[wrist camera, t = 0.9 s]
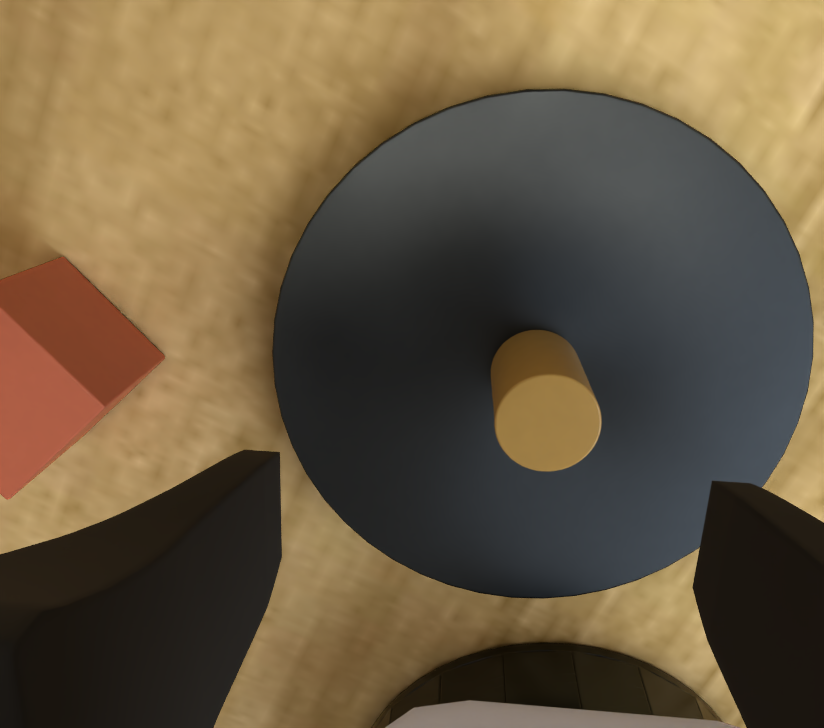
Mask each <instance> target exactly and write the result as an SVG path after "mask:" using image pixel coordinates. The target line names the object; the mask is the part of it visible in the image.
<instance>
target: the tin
mask: <svg viewBox="0 0 824 728" xmlns="http://www.w3.org/2000/svg"><path fill="white" fill-rule="evenodd" d="M469 700H471V701H484V702H496V703H508V704H520V705H532V706H544V707H556V708H568V709H580V710H592V711H604V712H616V713H628V714H640V715H653V716H665V717H677V718H689V719H701V720H713V721H720V722H722V721H721V720H720V718H719V717H718V716H717V715H716V713H715V712H714V711H713V710H712V708H711V707H710V706H708V705H707V704H706V703H705V702H704V701H703V700H702V699H701V698H700V697H699V696H698V695H697V694H695V693H694V692H693V691H692V690H691V689H689V688H688V687H686V686H685V685H683V684H682V683H681V682H679V681H678V680H676V679H675V678H673V677H672V676H670V675H668V674H666V673H664V672H662V671H661V670H659V669H657V668H655V667H653V666H651V665H649V664H647V663H644V662H642V661H639V660H636V659H634V658H631V657H628V656H626V655H623V654H619V653H615V652H612V651H608V650H604V649H600V648H595V647H588V646H581V645H574V644H562V643H532V644H518V645H510V646H505V647H499V648H494V649H489V650H485V651H481V652H478V653H475V654H472V655H468V656H465V657H462V658H459V659H457V660H455V661H453V662H450V663H448V664H446V665H444V666H441V667H439V668H437V669H435V670H434V671H432V672H430V673H429V674H427V675H425V676H424V677H422V678H420V679H419V680H417V681H416V682H414V683H413V684H412V685H411V686H409V687H408V688H407V689H406V690H404V691H403V692H402V693H401V694H399V695H398V696H397V697H396V698H395V699H394V700H393V702H392V703H391V704H390V705H389V706H388V707H387V708H386V709H385V710H384V711H383V712H382V714H381V715H380V717H379V718H378V719H377V721H376V722H375V724H374V725H373V727H372V728H385V727H387V726H388V725H390V724H391V723H392V722H394V721H395V720H397V719H398V718H400V717H401V716H402V715H404V714H405V713H407V712H408V711H410V710H411V709H413V708H415V707H423V706H430V705H438V704H446V703H453V702H461V701H469Z"/></svg>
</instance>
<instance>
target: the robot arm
mask: <svg viewBox="0 0 824 728" xmlns="http://www.w3.org/2000/svg"><path fill="white" fill-rule="evenodd" d="M281 558H282V545H281V493H280V452H269V451H254V450H243V451H240V452H238V453H236V454H234V455H232V456H230V457H228V458H226V459H224V460H222V461H220V462H218V463H217V464H215V465H213V466H211V467H210V468H208V469H206V470H204V471H202V472H201V473H199V474H197V475H195V476H193V477H192V478H190V479H188V480H186V481H184V482H183V483H181V484H179V485H177V486H175V487H173V488H172V489H170V490H168V491H166V492H164V493H162V494H160V495H158V496H156V497H154V498H152V499H150V500H148V501H146V502H144V503H142V504H139V505H137V506H135V507H133V508H131V509H129V510H127V511H125V512H123V513H121V514H119V515H116V516H114V517H112V518H109V519H107V520H104V521H102V522H100V523H97V524H94V525H92V526H89V527H86V528H84V529H81V530H78V531H76V532H73V533H70V534H67V535H65V536H62V537H59V538H55V539H52V540H48V541H45V542H42V543H38V544H35V545H31V546H28V547H25V548H21V549H18V550H14V551H11V552H8V553H4V554H0V728H213V727H214V725H215V722H216V720H217V717H218V715H219V713H220V710H221V708H222V706H223V704H224V702H225V700H226V697H227V695H228V693H229V691H230V689H231V686H232V684H233V682H234V680H235V678H236V675H237V673H238V671H239V669H240V667H241V665H242V662H243V660H244V658H245V656H246V654H247V651H248V649H249V647H250V645H251V643H252V640H253V638H254V636H255V634H256V631H257V629H258V627H259V625H260V622H261V620H262V618H263V616H264V613H265V611H266V609H267V606H268V603H269V600H270V597H271V593H272V590H273V587H274V583H275V580H276V576H277V573H278V569H279V565H280V562H281ZM693 591H694V594H695V598H696V602H697V606H698V609H699V613H700V617H701V620H702V624H703V627H704V630H705V634H706V637H707V640H708V642H709V645H710V647H711V649H712V652H713V654H714V656H715V659H716V661H717V663H718V665H719V668H720V670H721V672H722V674H723V676H724V679H725V681H726V683H727V685H728V688H729V690H730V692H731V694H732V696H733V698H734V701H735V703H736V705H737V707H738V709H739V712H740V714H741V716H742V718H743V720H744V722H745V725H746V727H747V728H824V523H823V522H822V521H820V520H818V519H817V518H815V517H813V516H811V515H810V514H808V513H806V512H805V511H803V510H801V509H799V508H798V507H796V506H794V505H793V504H791V503H789V502H787V501H786V500H784V499H782V498H780V497H778V496H776V495H775V494H773V493H771V492H769V491H767V490H765V489H763V488H761V487H759V486H756V485H754V484H751V483H741V482H726V481H712V483H711V489H710V494H709V500H708V505H707V511H706V516H705V522H704V527H703V533H702V539H701V544H700V550H699V555H698V561H697V566H696V572H695V577H694V583H693ZM385 728H739V727H736V726H733V725H729V724H726V723H723V722H720V721H713V720H701V719H689V718H677V717H665V716H653V715H640V714H628V713H616V712H604V711H592V710H580V709H568V708H556V707H544V706H532V705H520V704H508V703H496V702H484V701H471V700H469V701H461V702H453V703H446V704H438V705H430V706H423V707H415V708H413V709H411V710H410V711H408V712H407V713H405V714H404V715H402V716H401V717H400V718H398V719H397V720H395V721H394V722H392V723H391V724H390V725H388V726H387V727H385Z"/></svg>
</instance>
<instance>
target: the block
mask: <svg viewBox="0 0 824 728" xmlns="http://www.w3.org/2000/svg"><path fill="white" fill-rule="evenodd" d="M164 359H165V356H164V355H163V354H162V353H161V352H160V351H159V350H158V349H157V348H156V347H155V346H154V345H153V344H152V343H151V342H150V341H149V340H148V339H147V338H146V337H145V336H144V335H143V334H142V333H141V332H140V331H139V330H138V329H137V328H136V327H134V326H133V325H132V324H131V323H130V322H129V321H128V320H127V319H126V318H125V317H124V316H123V315H122V314H121V313H120V312H119V311H118V310H117V309H116V308H115V307H114V306H113V305H112V304H111V303H110V302H109V301H108V300H107V299H106V298H105V297H104V296H103V295H102V294H101V293H100V292H99V291H98V290H97V289H96V288H95V287H94V286H93V285H92V284H91V283H90V282H89V281H88V280H87V279H86V278H85V277H84V276H83V275H82V274H81V273H80V272H79V271H78V270H77V269H76V268H75V267H74V266H73V265H72V264H71V263H70V262H69V261H67V260H66V259H65V258H64V257H60V258H58V259H55V260H52V261H49V262H47V263H44V264H41V265H39V266H36V267H33V268H31V269H28V270H25V271H23V272H20V273H17V274H14V275H12V276H9V277H6V278H4V279H1V280H0V494H1V495H2V496H3V497H4V498H6V499H7V500H8V499H10V498H11V497H13V496H14V495H15V494H16V493H17V492H18V491H20V490H21V489H22V488H23V487H24V486H25V485H27V484H28V483H29V482H30V481H31V480H33V479H34V478H35V477H36V476H37V475H38V474H40V473H41V472H42V471H43V470H44V469H45V468H47V467H48V466H49V465H50V464H51V463H52V462H54V461H55V460H56V459H57V458H58V457H59V456H61V455H62V454H63V453H64V452H65V451H66V450H68V449H69V448H70V447H71V446H72V445H73V444H75V443H76V442H77V441H78V440H79V439H80V438H82V437H83V436H84V435H85V434H86V433H87V432H88V431H89V430H90V429H91V428H92V427H93V426H94V425H95V424H96V423H97V422H99V421H100V420H101V419H102V418H103V417H104V416H105V415H106V414H107V413H108V412H109V411H110V410H111V409H112V408H113V407H114V406H115V405H116V404H117V403H119V402H120V401H121V400H122V399H123V398H124V397H125V396H126V395H127V394H128V393H129V392H130V391H131V390H132V389H133V388H134V387H135V386H136V385H137V384H139V383H140V382H141V381H142V380H143V379H144V378H145V377H146V376H147V375H148V374H149V373H150V372H151V371H152V370H153V369H154V368H155V367H156V366H157V365H159V364H160V363H161V362H162V361H163V360H164Z"/></svg>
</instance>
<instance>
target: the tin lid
mask: <svg viewBox="0 0 824 728" xmlns="http://www.w3.org/2000/svg"><path fill="white" fill-rule="evenodd" d="M272 355H273V368H274V381H275V388H276V393H277V397H278V402H279V407H280V411H281V416H282V419H283V422H284V424H285V427H286V430H287V433H288V436H289V438H290V441H291V444H292V446H293V448H294V450H295V452H296V454H297V456H298V458H299V460H300V462H301V464H302V466H303V468H304V470H305V472H306V474H307V475H308V476H309V478H310V479H311V481H312V482H313V484H314V485H315V487H316V488H317V490H318V491H319V492H320V494H321V495H322V497H323V498H324V500H325V501H326V502H327V503H328V504H329V505H330V506H331V507H332V509H333V510H334V511H335V512H336V513H337V514H338V515H339V516H340V518H341V519H342V520H343V521H344V522H345V523H346V524H347V525H348V526H350V527H351V528H352V529H353V530H354V531H355V532H356V533H358V534H359V535H360V536H361V537H362V538H363V539H364V540H366V541H367V542H368V543H369V544H371V545H372V546H374V547H375V548H377V549H378V550H380V551H381V552H383V553H384V554H386V555H387V556H388V557H390V558H391V559H393V560H395V561H397V562H398V563H400V564H402V565H404V566H406V567H408V568H410V569H412V570H414V571H416V572H418V573H419V574H422V575H424V576H427V577H429V578H432V579H435V580H437V581H440V582H443V583H445V584H448V585H451V586H455V587H458V588H462V589H466V590H470V591H474V592H478V593H483V594H490V595H497V596H504V597H511V598H554V597H567V596H577V595H582V594H587V593H592V592H597V591H602V590H607V589H610V588H613V587H617V586H620V585H623V584H626V583H629V582H633V581H636V580H638V579H641V578H643V577H645V576H648V575H650V574H652V573H654V572H657V571H659V570H661V569H663V568H666V567H668V566H669V565H671V564H673V563H675V562H676V561H678V560H680V559H681V558H683V557H685V556H687V555H688V554H690V553H692V552H693V551H695V550H696V549H698V548H699V547H700V544H701V539H702V533H703V527H704V522H705V516H706V511H707V505H708V500H709V494H710V489H711V483H712V481H726V482H741V483H751V484H754V485H756V486H759V487H761V488H762V487H763V485H764V484H765V483H766V482H767V480H768V478H769V477H770V475H771V474H772V472H773V470H774V469H775V467H776V466H777V464H778V462H779V461H780V459H781V458H782V456H783V454H784V452H785V450H786V448H787V446H788V444H789V442H790V439H791V437H792V435H793V433H794V431H795V428H796V426H797V424H798V421H799V418H800V415H801V411H802V408H803V405H804V401H805V398H806V395H807V391H808V386H809V379H810V373H811V366H812V360H813V315H812V307H811V300H810V292H809V286H808V283H807V279H806V276H805V272H804V269H803V265H802V262H801V258H800V255H799V252H798V250H797V248H796V246H795V243H794V241H793V239H792V237H791V235H790V232H789V230H788V228H787V226H786V224H785V221H784V220H783V218H782V217H781V215H780V214H779V212H778V211H777V209H776V208H775V206H774V204H773V203H772V201H771V200H770V198H769V197H768V195H767V194H766V192H765V191H764V190H763V188H762V187H761V186H760V185H759V184H758V183H757V182H756V181H755V179H754V178H753V177H752V176H751V175H750V174H749V173H748V172H747V170H746V169H745V168H744V167H743V166H742V165H741V164H740V163H739V162H738V161H737V160H736V159H735V158H733V157H732V156H731V155H730V154H729V153H727V152H726V151H725V150H724V149H722V148H721V147H720V146H719V145H718V144H716V143H715V142H714V141H713V140H712V139H710V138H709V137H707V136H705V135H704V134H702V133H701V132H699V131H697V130H696V129H694V128H692V127H691V126H689V125H687V124H686V123H684V122H682V121H681V120H679V119H677V118H675V117H673V116H670V115H668V114H666V113H663V112H661V111H659V110H656V109H654V108H652V107H649V106H647V105H645V104H642V103H638V102H635V101H631V100H627V99H623V98H619V97H616V96H612V95H608V94H604V93H596V92H588V91H580V90H571V89H526V90H519V91H513V92H507V93H500V94H494V95H487V96H484V97H480V98H477V99H474V100H470V101H467V102H464V103H460V104H457V105H454V106H450V107H448V108H446V109H443V110H441V111H439V112H437V113H435V114H432V115H430V116H428V117H426V118H424V119H421V120H419V121H417V122H415V123H413V124H411V125H410V126H408V127H407V128H405V129H403V130H402V131H400V132H399V133H397V134H395V135H394V136H392V137H391V138H389V139H387V140H386V141H384V142H383V143H381V144H380V145H379V146H378V147H376V148H375V149H374V150H373V151H372V152H370V153H369V154H368V155H367V156H366V157H364V158H363V159H362V160H361V161H360V162H358V163H357V164H356V165H355V166H354V167H353V168H352V169H351V170H350V171H349V172H348V173H347V174H346V175H345V176H344V177H343V178H342V180H341V181H340V182H339V183H338V184H337V185H336V186H335V187H334V188H333V189H332V190H331V192H330V193H329V194H328V195H327V197H326V198H325V199H324V201H323V202H322V204H321V205H320V207H319V208H318V210H317V211H316V212H315V214H314V215H313V217H312V218H311V220H310V221H309V223H308V224H307V226H306V228H305V230H304V232H303V234H302V236H301V238H300V240H299V242H298V244H297V246H296V248H295V250H294V252H293V254H292V256H291V259H290V262H289V265H288V268H287V271H286V274H285V276H284V279H283V282H282V285H281V289H280V294H279V299H278V304H277V309H276V314H275V319H274V333H273V350H272Z"/></svg>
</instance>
